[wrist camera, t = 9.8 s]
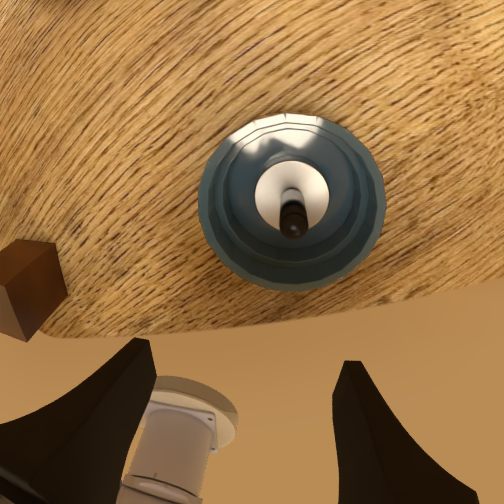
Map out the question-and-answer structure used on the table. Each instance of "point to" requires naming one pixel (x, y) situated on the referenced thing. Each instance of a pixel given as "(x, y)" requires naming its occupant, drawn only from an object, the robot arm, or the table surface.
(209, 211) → the bowl
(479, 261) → the table surface
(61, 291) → the brown block
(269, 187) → the disc with handle
